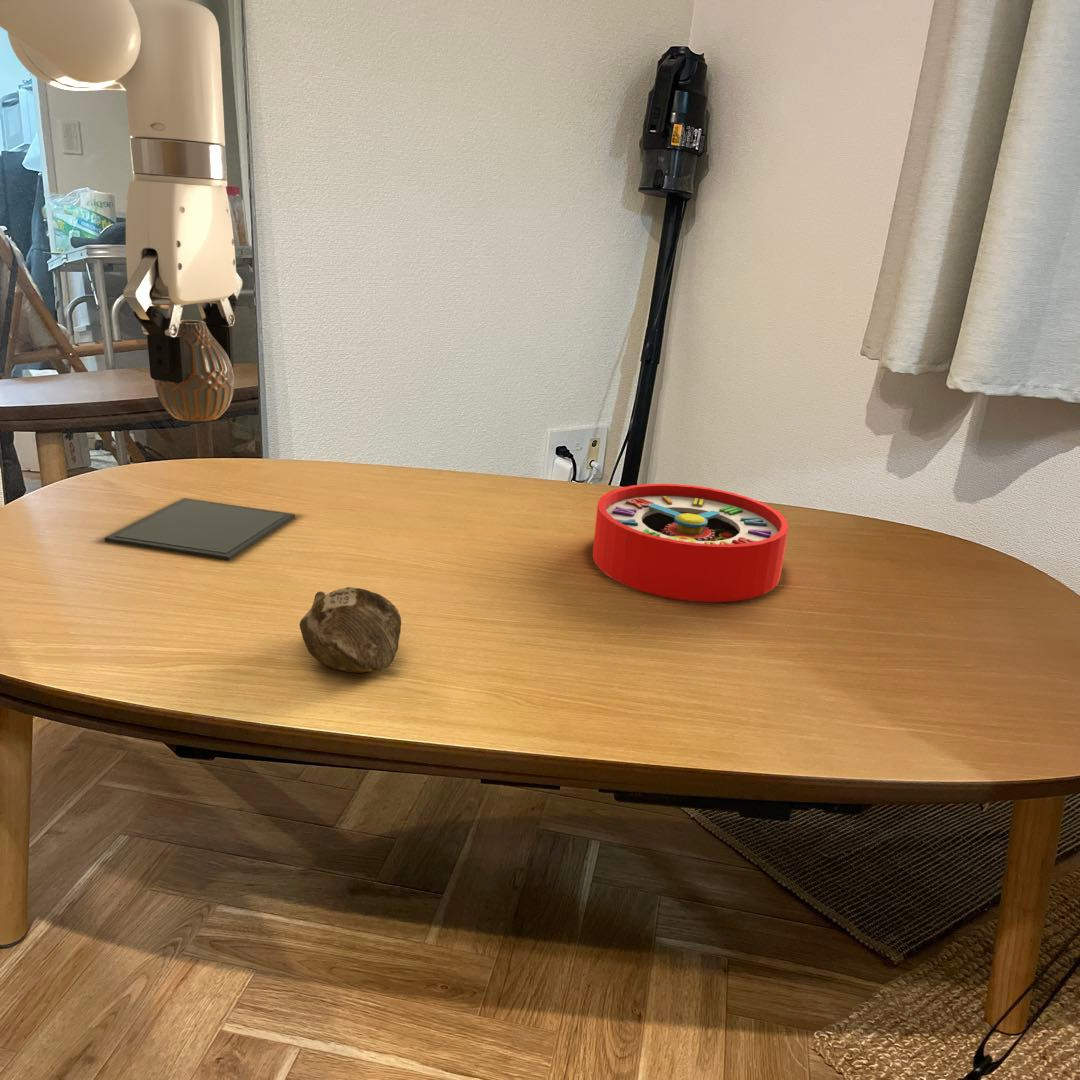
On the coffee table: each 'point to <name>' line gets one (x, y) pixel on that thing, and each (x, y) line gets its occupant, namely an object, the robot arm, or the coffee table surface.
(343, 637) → the fossilized seashell
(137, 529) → the mat
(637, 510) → the toy clock
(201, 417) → the vase
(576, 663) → the coffee table surface
